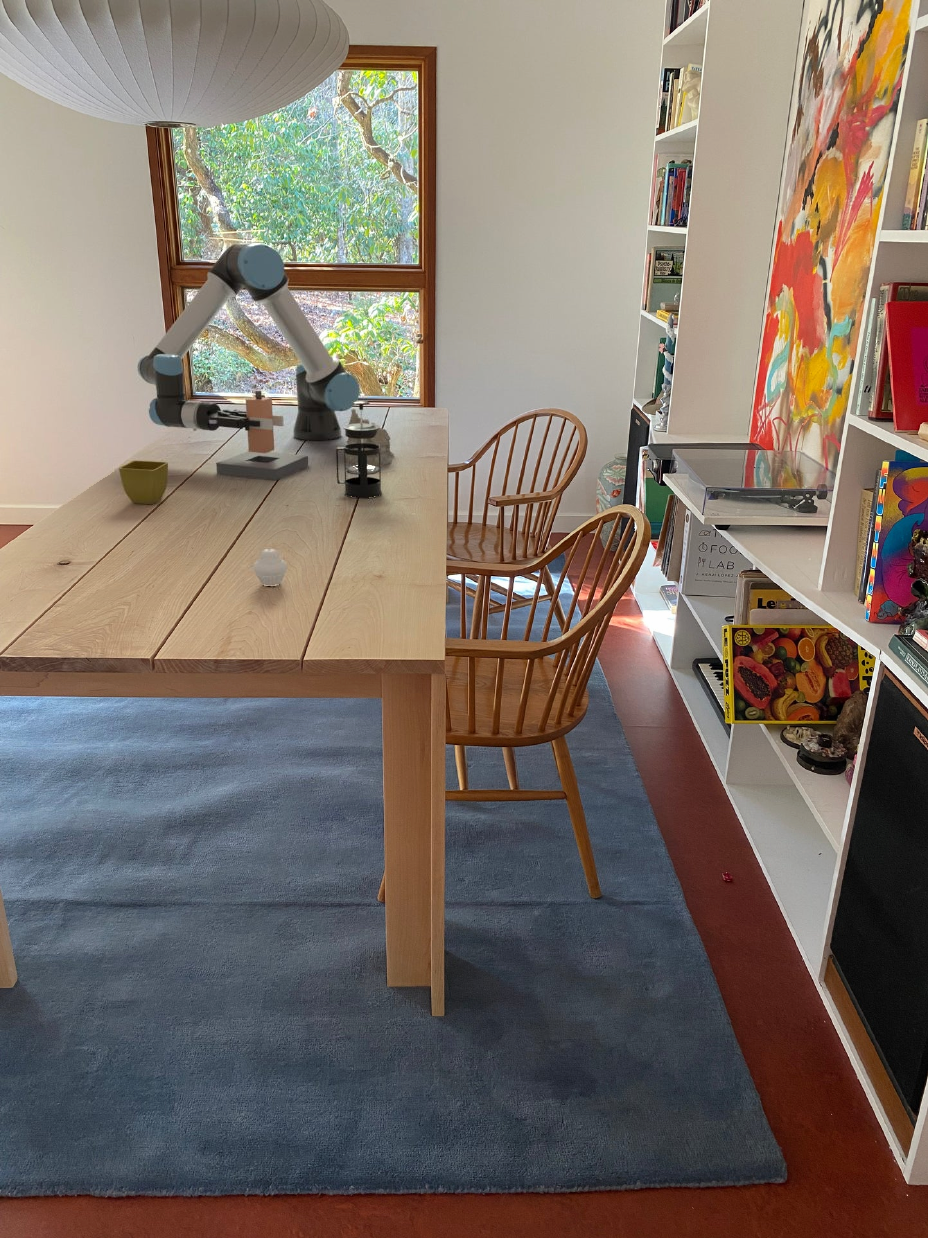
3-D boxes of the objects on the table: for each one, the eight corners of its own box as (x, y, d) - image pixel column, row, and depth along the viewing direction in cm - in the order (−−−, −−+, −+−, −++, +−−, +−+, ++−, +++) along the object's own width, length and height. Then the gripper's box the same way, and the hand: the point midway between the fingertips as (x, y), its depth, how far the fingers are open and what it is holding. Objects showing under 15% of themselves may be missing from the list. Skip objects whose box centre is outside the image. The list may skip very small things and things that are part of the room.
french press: (382, 488, 242) (381, 398, 233) (386, 498, 233) (384, 404, 225) (336, 489, 240) (333, 398, 232) (338, 499, 232) (335, 404, 223)
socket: (252, 460, 269) (251, 450, 268) (308, 466, 264) (308, 455, 263) (217, 474, 253) (216, 462, 252) (276, 480, 248) (275, 469, 247)
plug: (258, 448, 259) (254, 389, 253) (274, 449, 258) (271, 390, 252) (248, 451, 255) (245, 391, 249) (265, 453, 253) (261, 392, 248)
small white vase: (286, 590, 172) (284, 553, 170) (252, 590, 172) (249, 553, 169) (289, 578, 178) (287, 543, 175) (256, 578, 177) (254, 543, 175)
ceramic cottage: (365, 467, 263) (366, 412, 259) (335, 458, 275) (335, 406, 271) (411, 464, 272) (412, 411, 268) (380, 456, 285) (381, 405, 280)
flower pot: (172, 497, 230) (168, 461, 227) (158, 507, 222) (154, 469, 219) (137, 496, 231) (133, 460, 227) (122, 505, 223) (117, 468, 219)
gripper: (221, 424, 268) (294, 431, 261) (184, 435, 252) (260, 442, 245) (219, 397, 265) (293, 403, 258) (181, 406, 249) (259, 413, 243)
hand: (277, 422), depth 252 cm, fingers closed on plug, 5 cm apart
